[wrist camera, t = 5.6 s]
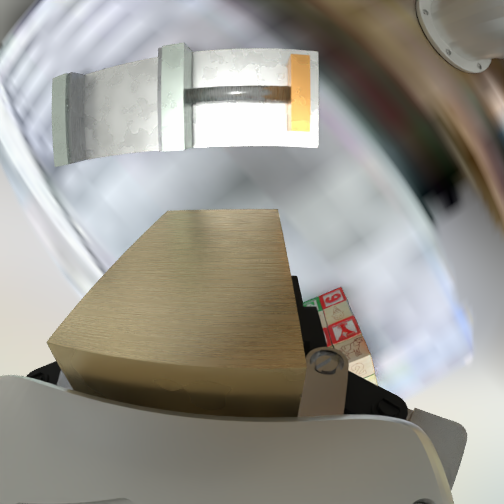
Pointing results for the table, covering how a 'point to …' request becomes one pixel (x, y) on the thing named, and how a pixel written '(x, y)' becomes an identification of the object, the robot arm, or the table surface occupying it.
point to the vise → (203, 113)
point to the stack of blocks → (344, 332)
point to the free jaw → (220, 95)
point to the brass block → (192, 320)
